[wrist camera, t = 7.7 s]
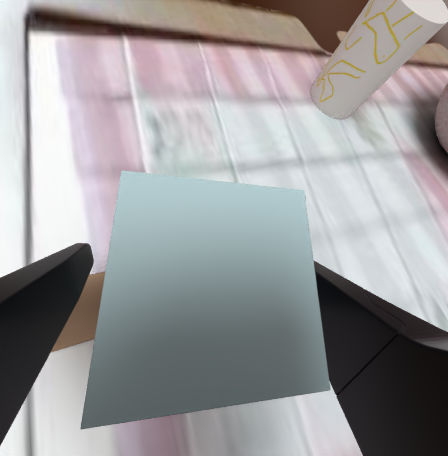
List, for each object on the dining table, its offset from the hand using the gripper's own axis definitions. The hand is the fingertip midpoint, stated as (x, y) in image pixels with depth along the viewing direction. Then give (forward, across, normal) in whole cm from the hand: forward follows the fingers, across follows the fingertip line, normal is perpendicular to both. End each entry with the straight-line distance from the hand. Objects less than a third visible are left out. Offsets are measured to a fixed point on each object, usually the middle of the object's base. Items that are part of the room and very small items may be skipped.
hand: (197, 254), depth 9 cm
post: (+5, 0, +6) cm, 8 cm away
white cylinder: (+27, -22, -12) cm, 37 cm away
